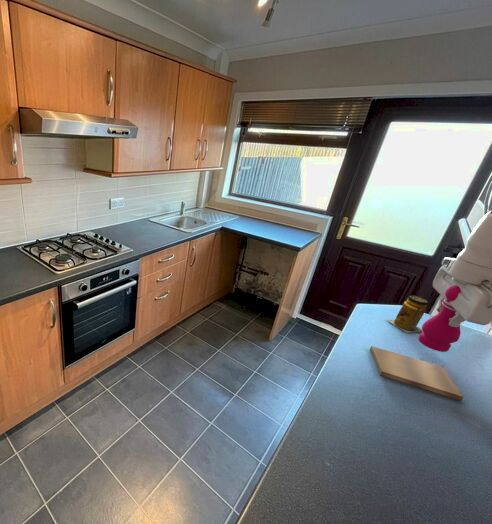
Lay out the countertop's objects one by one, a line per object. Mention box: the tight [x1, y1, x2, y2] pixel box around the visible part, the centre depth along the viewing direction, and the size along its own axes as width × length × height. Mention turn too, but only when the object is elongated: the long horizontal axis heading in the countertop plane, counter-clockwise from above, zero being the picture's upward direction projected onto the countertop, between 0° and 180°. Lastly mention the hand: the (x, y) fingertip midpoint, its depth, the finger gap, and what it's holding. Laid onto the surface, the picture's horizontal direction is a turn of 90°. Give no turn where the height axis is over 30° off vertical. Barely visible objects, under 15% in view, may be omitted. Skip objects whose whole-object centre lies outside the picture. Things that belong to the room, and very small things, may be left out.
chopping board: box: [369, 345, 464, 401], centre depth 83 cm, size 18×12×2 cm, turn 65°
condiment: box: [387, 295, 429, 334], centre depth 102 cm, size 7×8×12 cm
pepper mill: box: [417, 285, 462, 353], centre depth 74 cm, size 7×7×20 cm
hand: (446, 318), depth 75 cm, fingers closed on pepper mill, 5 cm apart
